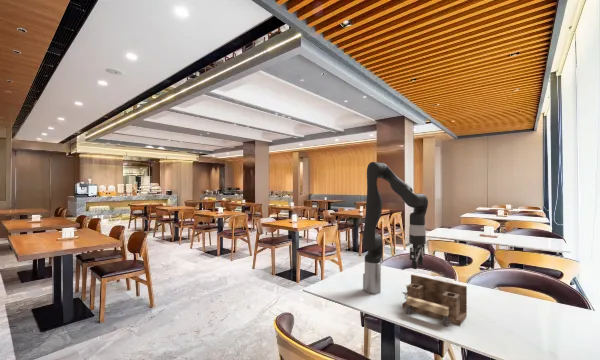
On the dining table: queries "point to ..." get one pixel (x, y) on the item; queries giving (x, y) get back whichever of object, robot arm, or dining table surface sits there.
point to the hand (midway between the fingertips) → (417, 266)
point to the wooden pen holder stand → (439, 297)
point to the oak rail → (428, 308)
